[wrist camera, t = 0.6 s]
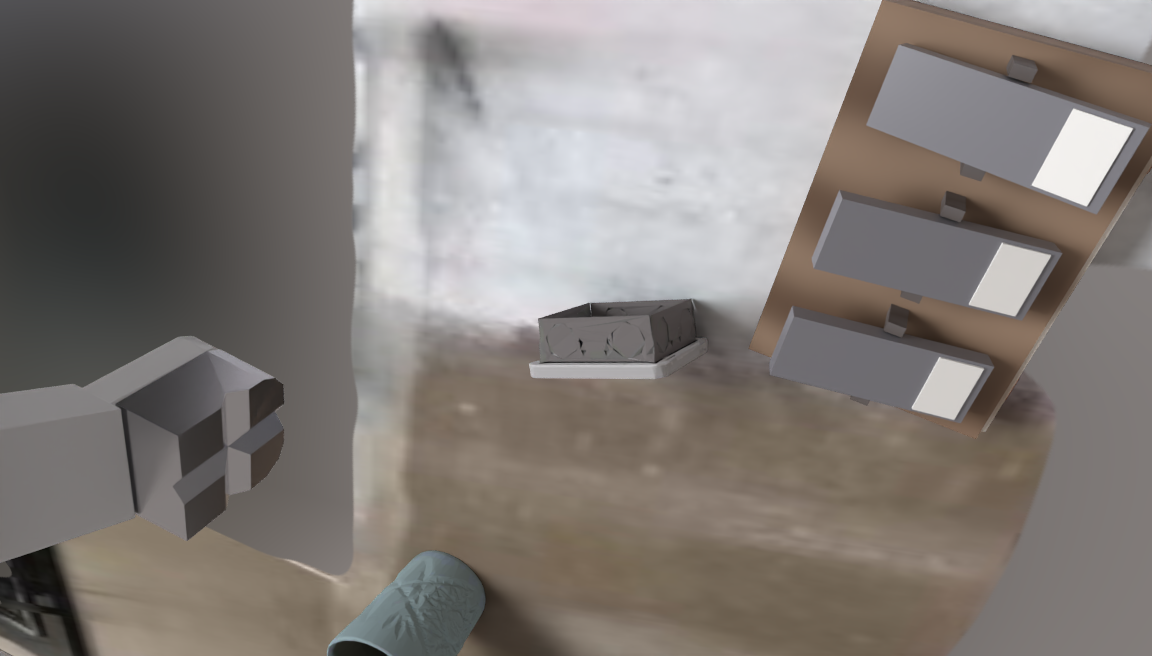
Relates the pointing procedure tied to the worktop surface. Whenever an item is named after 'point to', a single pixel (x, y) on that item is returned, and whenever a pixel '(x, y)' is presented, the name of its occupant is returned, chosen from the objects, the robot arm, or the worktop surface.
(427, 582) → the blue embossed cup
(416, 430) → the worktop surface
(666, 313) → the electrical switch
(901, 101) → the rocker
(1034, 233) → the switch unit
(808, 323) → the rocker
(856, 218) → the rocker middle
